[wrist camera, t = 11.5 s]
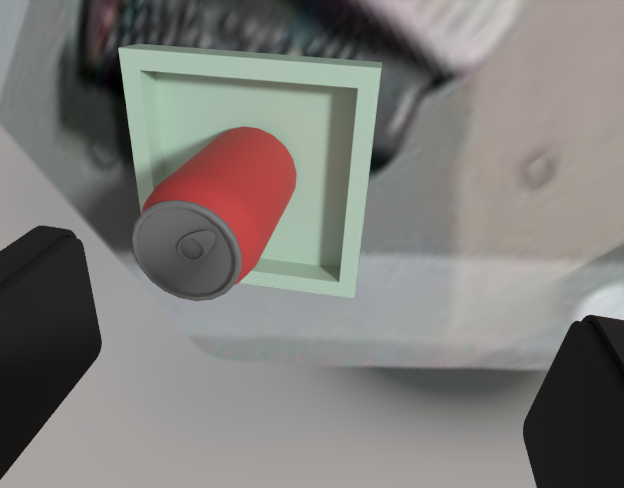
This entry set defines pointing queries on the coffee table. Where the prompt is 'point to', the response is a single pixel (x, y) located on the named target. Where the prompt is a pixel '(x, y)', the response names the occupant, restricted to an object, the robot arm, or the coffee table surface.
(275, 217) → the beer can
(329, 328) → the coffee table surface
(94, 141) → the coffee table surface
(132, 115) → the tray
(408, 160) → the coffee table surface
